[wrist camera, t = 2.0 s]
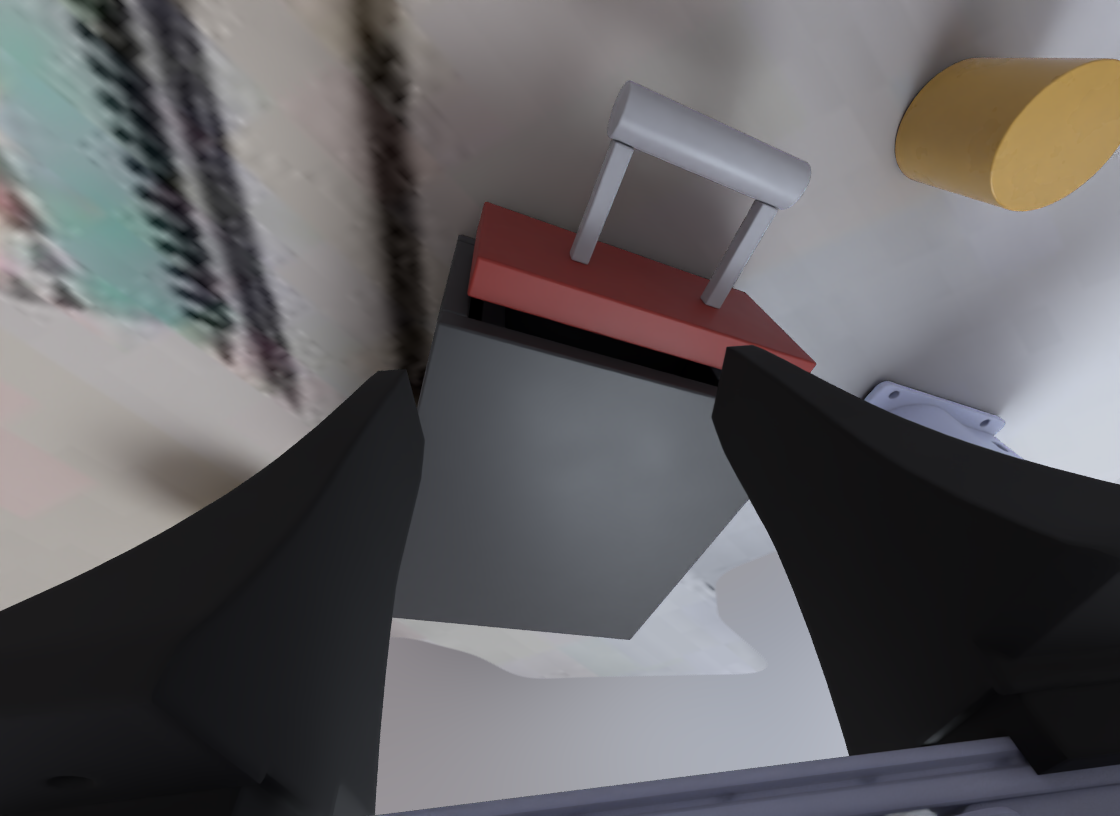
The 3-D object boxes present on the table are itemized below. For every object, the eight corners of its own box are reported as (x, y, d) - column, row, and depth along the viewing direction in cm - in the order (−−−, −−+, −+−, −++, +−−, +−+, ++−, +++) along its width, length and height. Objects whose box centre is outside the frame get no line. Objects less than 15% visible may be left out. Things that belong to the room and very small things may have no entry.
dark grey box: (459, 233, 18) (437, 321, 12) (728, 321, 22) (814, 423, 16) (399, 486, 26) (368, 616, 20) (604, 521, 30) (630, 640, 24)
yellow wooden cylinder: (1031, 85, 17) (1171, 93, 14) (945, 196, 19) (1045, 228, 16) (954, 36, 16) (1084, 31, 12) (872, 160, 18) (962, 186, 15)
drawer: (526, 37, 14) (536, 29, 10) (819, 173, 17) (933, 216, 13) (417, 464, 24) (397, 561, 20) (617, 501, 27) (639, 592, 23)
